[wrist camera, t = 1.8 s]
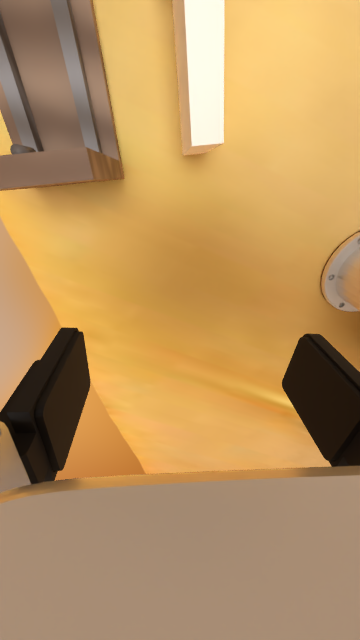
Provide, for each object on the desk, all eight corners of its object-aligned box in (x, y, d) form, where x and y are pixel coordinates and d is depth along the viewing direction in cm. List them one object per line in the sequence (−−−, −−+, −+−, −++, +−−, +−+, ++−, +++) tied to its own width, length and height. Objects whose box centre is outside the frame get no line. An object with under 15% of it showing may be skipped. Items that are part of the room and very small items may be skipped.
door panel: (205, 153, 26) (223, 143, 19) (172, 156, 26) (177, 147, 19) (199, -60, 19) (225, -220, 11) (154, -56, 19) (150, -214, 11)
